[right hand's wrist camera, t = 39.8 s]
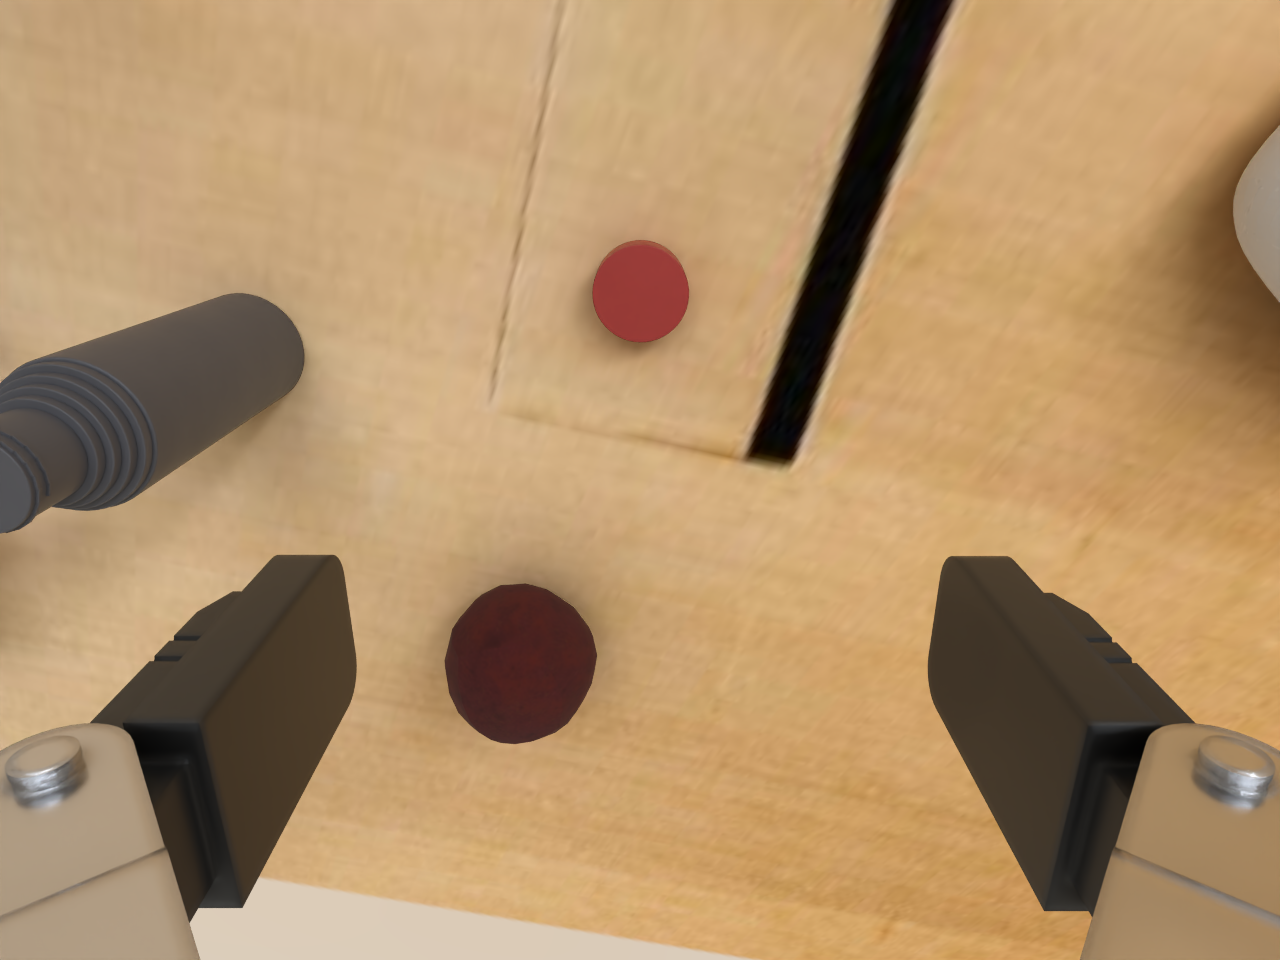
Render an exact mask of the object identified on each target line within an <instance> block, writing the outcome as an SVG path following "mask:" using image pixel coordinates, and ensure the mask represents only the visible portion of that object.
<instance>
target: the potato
mask: <svg viewBox="0 0 1280 960" xmlns="http://www.w3.org/2000/svg"><path fill="white" fill-rule="evenodd" d="M596 659H597V653H596V648H595V644H594V639H593V636H592V633H591V631H590V629H589V627H588V625H587V624H586V623H585V622H584V620H583V619H582V618H581V616H580V615H579V614H578V612H577V611H576V610H575V608H574V607H573V606H571V605H570V604H568V603H567V602H565V601H564V600H562V599H561V598H559V597H558V596H556V595H555V594H553V593H552V592H550V591H548V590H546V589H543V588H540V587H536V586H532V585H529V584H516V585H500V586H498V587H496V588H494V589H492V590H490V591H488V592H486V593H484V594H482V595H481V596H480V597H479V598H477V599H476V600H475V601H474V602H473V603H472V605H471V606H470V607H469V608H468V609H467V610H466V611H465V613H464V614H463V615H462V616H461V617H460V618H459V620H458V621H457V623H456V624H455V626H454V628H453V629H452V633H451V637H450V641H449V645H448V649H447V653H446V658H445V669H446V675H447V681H448V687H449V693H450V696H451V698H452V700H453V702H454V704H455V706H456V709H457V711H458V713H459V714H460V715H461V716H462V717H463V718H464V719H465V720H466V721H467V722H468V723H469V724H470V725H471V726H472V727H473V728H474V729H476V730H477V731H478V732H479V733H481V734H483V735H484V736H486V737H487V738H489V739H491V740H494V741H497V742H500V743H509V744H518V743H525V742H531V741H534V740H537V739H540V738H542V737H545V736H547V735H550V734H553V733H555V732H557V731H558V730H559V729H561V728H562V727H563V726H565V725H566V724H567V723H568V722H569V721H570V719H571V718H572V717H573V715H574V714H575V713H576V711H577V710H578V708H579V706H580V705H581V703H582V701H583V700H584V698H585V696H586V694H587V692H588V690H589V688H590V686H591V684H592V679H593V675H594V670H595V665H596Z"/></svg>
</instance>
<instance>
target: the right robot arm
mask: <svg viewBox="0 0 1280 960" xmlns="http://www.w3.org/2000/svg"><path fill="white" fill-rule="evenodd" d="M356 667H357V665H356V652H355V646H354V639H353V632H352V625H351V618H350V611H349V604H348V597H347V590H346V584H345V577H344V571H343V567H342V564H341V562H340V560H339V559H338V557H336V556H335V555H276V556H274V557H273V558H272V559H271V560H270V561H269V562H268V563H267V564H266V565H265V567H264V568H263V569H262V570H261V571H260V572H259V573H258V574H257V575H256V576H255V577H254V579H253V580H252V581H251V582H250V583H249V584H248V585H247V586H246V587H245V588H244V590H243V591H242V592H231V593H230V594H228V595H226V596H224V597H223V598H221V599H219V600H217V601H216V602H214V603H212V604H210V605H209V606H207V607H205V608H203V609H202V610H200V611H198V612H197V613H196V614H195V615H194V616H193V617H192V618H191V619H190V620H189V621H188V622H187V623H186V624H185V625H184V626H183V627H182V628H181V629H180V630H179V631H178V632H177V633H176V634H175V635H174V641H169V642H168V643H167V644H166V645H165V646H164V647H163V648H162V649H161V650H160V651H159V652H158V653H157V654H156V655H155V660H154V661H149V662H148V663H147V664H146V665H145V667H144V668H143V669H142V670H141V671H140V672H139V673H138V674H137V675H136V676H135V677H134V678H133V679H132V680H131V681H130V682H129V683H128V684H127V685H126V686H125V687H124V688H123V689H122V690H121V691H120V692H119V693H118V694H117V695H116V697H115V698H114V699H113V700H112V701H111V702H110V703H109V704H108V705H107V706H106V707H105V708H104V709H103V710H102V711H101V712H100V713H99V714H98V715H97V716H96V717H95V718H94V719H93V720H92V721H91V722H90V723H87V724H77V725H70V726H65V727H60V728H56V729H52V730H49V731H45V732H42V733H39V734H36V735H34V736H31V737H28V738H26V739H23V740H21V741H19V742H17V743H15V744H12V745H11V746H9V747H7V748H5V749H3V750H1V751H0V960H200V957H199V954H198V951H197V948H196V944H195V941H194V937H193V934H192V931H191V927H190V924H189V923H190V921H191V920H192V918H193V916H194V914H195V913H196V911H197V909H198V908H243V906H244V904H245V902H246V900H247V898H248V896H249V894H250V892H251V891H252V889H253V887H254V885H255V883H256V881H257V879H258V877H259V875H260V873H261V872H262V870H263V868H264V866H265V864H266V862H267V860H268V858H269V856H270V854H271V853H272V851H273V849H274V847H275V845H276V843H277V841H278V839H279V837H280V836H281V834H282V832H283V830H284V828H285V826H286V824H287V822H288V820H289V818H290V817H291V815H292V813H293V811H294V809H295V807H296V805H297V803H298V801H299V799H300V798H301V796H302V794H303V792H304V790H305V788H306V786H307V784H308V782H309V781H310V779H311V777H312V775H313V773H314V771H315V769H316V767H317V765H318V763H319V762H320V760H321V758H322V756H323V754H324V752H325V750H326V748H327V746H328V744H329V743H330V741H331V739H332V737H333V735H334V733H335V731H336V729H337V727H338V726H339V724H340V722H341V720H342V718H343V716H344V714H345V712H346V710H347V708H348V707H349V704H350V702H351V699H352V696H353V692H354V688H355V681H356ZM928 681H929V687H930V692H931V696H932V700H933V703H934V705H935V707H936V709H937V711H938V713H939V715H940V717H941V719H942V720H943V722H944V724H945V726H946V728H947V730H948V732H949V734H950V735H951V737H952V739H953V741H954V743H955V745H956V747H957V749H958V750H959V752H960V754H961V756H962V758H963V760H964V762H965V764H966V765H967V767H968V769H969V771H970V773H971V775H972V777H973V779H974V780H975V782H976V784H977V786H978V788H979V790H980V792H981V794H982V795H983V797H984V799H985V801H986V803H987V805H988V807H989V809H990V810H991V812H992V814H993V816H994V818H995V820H996V822H997V823H998V825H999V827H1000V829H1001V831H1002V833H1003V835H1004V837H1005V838H1006V840H1007V842H1008V844H1009V846H1010V848H1011V850H1012V852H1013V853H1014V855H1015V857H1016V859H1017V861H1018V863H1019V865H1020V867H1021V868H1022V870H1023V872H1024V874H1025V876H1026V878H1027V880H1028V882H1029V883H1030V885H1031V887H1032V889H1033V891H1034V893H1035V895H1036V897H1037V898H1038V900H1039V902H1040V904H1041V906H1042V908H1043V910H1044V911H1089V912H1090V914H1091V916H1092V921H1091V924H1090V927H1089V931H1088V934H1087V937H1086V941H1085V944H1084V947H1083V951H1082V954H1081V957H1080V960H1280V751H1279V750H1277V749H1275V748H1273V747H1271V746H1269V745H1268V744H1265V743H1263V742H1261V741H1259V740H1257V739H1254V738H1252V737H1249V736H1246V735H1244V734H1241V733H1238V732H1235V731H1231V730H1228V729H1224V728H1220V727H1215V726H1210V725H1203V724H1196V723H1195V722H1194V721H1193V720H1192V719H1191V718H1190V717H1189V716H1188V715H1187V714H1186V713H1185V712H1184V711H1183V710H1182V709H1181V708H1180V707H1179V706H1178V705H1177V704H1176V703H1175V702H1174V701H1173V700H1172V699H1171V698H1170V697H1169V696H1168V695H1167V694H1166V693H1165V692H1164V691H1163V690H1162V689H1161V688H1160V687H1159V685H1158V684H1157V683H1156V682H1155V681H1154V680H1153V679H1152V678H1151V677H1150V676H1149V675H1148V674H1147V673H1146V672H1145V671H1144V670H1143V669H1142V668H1141V667H1140V666H1139V665H1138V664H1137V663H1132V658H1131V657H1130V656H1129V655H1128V654H1127V653H1126V652H1125V651H1124V650H1123V649H1122V648H1121V647H1120V645H1119V644H1118V643H1112V637H1111V636H1110V635H1109V634H1108V633H1107V632H1106V631H1105V630H1104V629H1103V628H1102V627H1101V626H1100V625H1099V624H1098V623H1097V622H1096V621H1095V620H1094V619H1093V618H1092V617H1091V616H1090V615H1089V614H1088V613H1087V612H1085V611H1083V610H1081V609H1079V608H1078V607H1076V606H1074V605H1072V604H1071V603H1069V602H1067V601H1065V600H1064V599H1062V598H1060V597H1058V596H1057V595H1055V594H1053V593H1043V592H1042V591H1041V589H1040V588H1039V587H1038V586H1037V585H1036V584H1035V583H1034V582H1033V581H1032V580H1031V579H1030V577H1029V576H1028V575H1027V574H1026V573H1025V572H1024V571H1023V570H1022V569H1021V568H1020V567H1019V565H1018V564H1017V563H1016V562H1015V561H1014V560H1013V559H1012V558H1010V557H1008V556H951V557H948V558H947V559H946V561H945V562H944V565H943V567H942V571H941V575H940V582H939V588H938V595H937V602H936V609H935V616H934V622H933V629H932V636H931V643H930V649H929V657H928Z"/></svg>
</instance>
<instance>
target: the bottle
mask: <svg viewBox="0 0 1280 960" xmlns="http://www.w3.org/2000/svg"><path fill="white" fill-rule="evenodd" d="M303 365H304V350H303V345H302V341H301V338H300V335H299V333H298V331H297V329H296V327H295V326H294V324H293V323H292V321H291V320H290V319H289V318H288V317H287V315H286V314H285V313H284V312H283V311H281V310H280V309H279V308H278V307H276V306H275V305H274V304H272V303H270V302H269V301H267V300H265V299H262V298H260V297H257V296H254V295H249V294H240V293H235V294H228V295H223V296H220V297H217V298H214V299H211V300H208V301H205V302H203V303H200V304H197V305H194V306H191V307H188V308H185V309H182V310H179V311H176V312H173V313H170V314H167V315H164V316H161V317H158V318H156V319H153V320H150V321H147V322H144V323H141V324H138V325H135V326H132V327H129V328H126V329H123V330H120V331H117V332H114V333H111V334H108V335H106V336H103V337H100V338H97V339H94V340H91V341H88V342H85V343H82V344H79V345H76V346H73V347H70V348H67V349H64V350H61V351H59V352H56V353H53V354H50V355H47V356H44V357H41V358H38V359H35V360H32V361H30V362H27V363H25V364H23V365H22V366H20V367H18V368H17V369H16V370H14V371H13V372H12V373H11V374H10V375H9V376H8V377H7V378H5V379H4V380H3V381H2V382H1V383H0V533H8V532H12V531H15V530H19V529H21V528H22V527H24V526H26V525H27V524H29V523H30V522H32V520H33V519H34V517H35V516H36V515H38V514H40V513H41V512H43V511H45V510H46V509H48V508H50V507H56V508H64V509H72V510H82V511H90V510H99V509H104V508H108V507H112V506H117V505H120V504H122V503H125V502H127V501H129V500H131V499H133V498H134V497H136V496H137V495H139V494H140V493H142V492H143V491H145V490H146V489H147V488H149V487H150V486H152V485H153V484H155V483H156V482H158V481H159V480H161V479H162V478H164V477H165V476H167V475H168V474H170V473H171V472H172V471H174V470H175V469H177V468H178V467H180V466H181V465H183V464H184V463H186V462H187V461H189V460H190V459H192V458H193V457H195V456H196V455H197V454H199V453H200V452H202V451H203V450H205V449H206V448H208V447H209V446H211V445H212V444H214V443H215V442H217V441H218V440H220V439H221V438H222V437H224V436H225V435H227V434H228V433H230V432H231V431H233V430H234V429H236V428H237V427H239V426H240V425H242V424H243V423H245V422H246V421H247V420H249V419H250V418H252V417H253V416H255V415H256V414H258V413H259V412H261V411H262V410H264V409H265V408H267V407H268V406H270V405H271V404H272V403H274V402H275V401H277V400H278V399H280V398H281V397H283V396H284V395H286V394H287V393H288V392H289V391H290V390H291V389H292V388H293V387H294V386H295V385H296V383H297V382H298V380H299V378H300V376H301V373H302V370H303Z"/></svg>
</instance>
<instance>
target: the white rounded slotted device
mask: <svg viewBox="0 0 1280 960" xmlns="http://www.w3.org/2000/svg"><path fill="white" fill-rule="evenodd" d="M1233 217H1234V224H1235V230H1236V234H1237V238H1238V241H1239V243H1240V246H1241V248H1242V250H1243V252H1244V254H1245V256H1246V257H1247V259H1248V260H1249V262H1250V264H1251V265H1252V267H1253V269H1254V270H1255V271H1256V273H1257V274H1258V275H1259V277H1260V278H1261V280H1262V281H1263V282H1264V284H1265V285H1266V286H1267V288H1268V289H1269V290H1270V291H1271V293H1272V294H1273V295H1274V296H1275V297H1276V299H1277V300H1278V301H1279V302H1280V125H1279V126H1278V127H1277V129H1276V130H1275V131H1274V132H1273V133H1272V134H1271V135H1270V136H1269V137H1268V139H1267V140H1266V141H1265V142H1264V144H1263V145H1262V146H1261V147H1260V149H1259V150H1258V151H1257V153H1256V154H1255V155H1254V156H1253V158H1252V159H1251V160H1250V162H1249V164H1248V165H1247V167H1246V169H1245V170H1244V172H1243V174H1242V176H1241V178H1240V180H1239V183H1238V185H1237V187H1236V191H1235V196H1234V200H1233Z"/></svg>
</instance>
